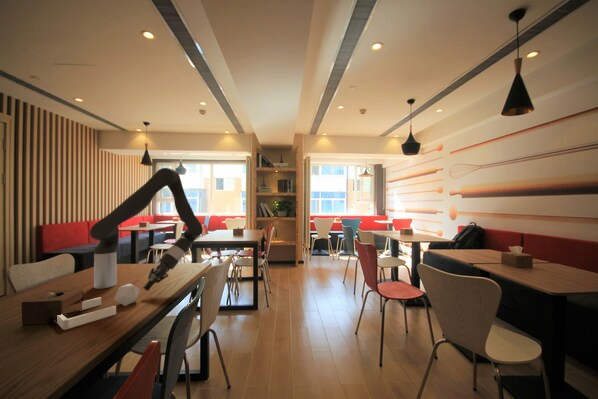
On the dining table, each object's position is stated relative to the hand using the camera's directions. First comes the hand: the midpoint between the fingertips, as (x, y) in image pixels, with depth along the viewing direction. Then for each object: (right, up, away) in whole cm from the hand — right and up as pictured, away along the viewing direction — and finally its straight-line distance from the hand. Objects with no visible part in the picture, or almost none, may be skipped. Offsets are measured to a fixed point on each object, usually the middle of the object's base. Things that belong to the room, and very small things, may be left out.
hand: (145, 289), depth 114 cm
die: (-4, -4, -6) cm, 8 cm away
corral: (-12, -4, -17) cm, 21 cm away
